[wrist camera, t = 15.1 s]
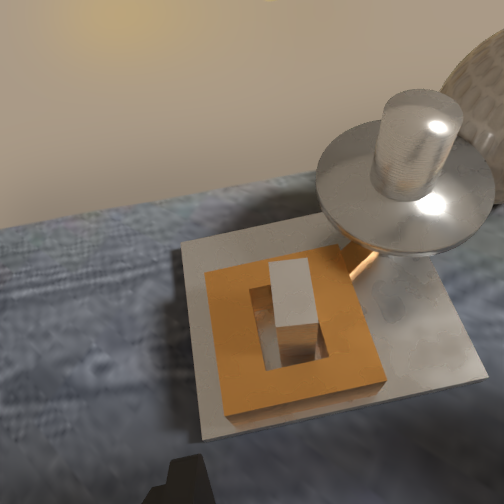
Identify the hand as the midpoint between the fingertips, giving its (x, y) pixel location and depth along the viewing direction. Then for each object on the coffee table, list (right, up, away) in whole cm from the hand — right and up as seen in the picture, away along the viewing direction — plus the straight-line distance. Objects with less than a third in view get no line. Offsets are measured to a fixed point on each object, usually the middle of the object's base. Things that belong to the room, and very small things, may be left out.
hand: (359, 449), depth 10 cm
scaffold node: (+4, +1, +26) cm, 27 cm away
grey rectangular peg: (+1, -3, +23) cm, 23 cm away
